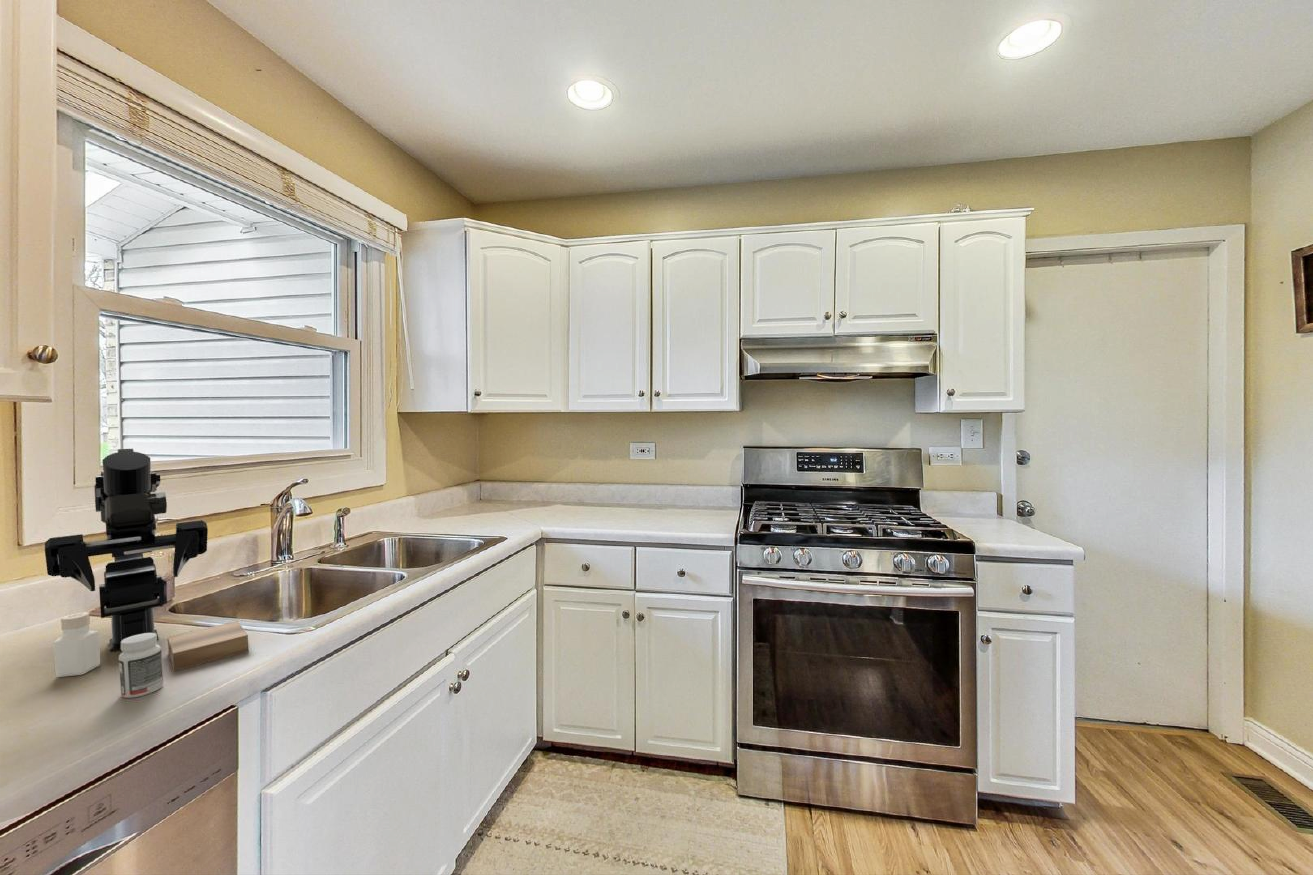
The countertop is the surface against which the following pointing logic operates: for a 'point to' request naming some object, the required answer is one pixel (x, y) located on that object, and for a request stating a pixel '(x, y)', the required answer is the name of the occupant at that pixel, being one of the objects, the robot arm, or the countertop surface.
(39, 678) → the countertop surface
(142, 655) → the pill bottle
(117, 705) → the countertop surface
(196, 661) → the brown square block
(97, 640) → the pepper shaker
